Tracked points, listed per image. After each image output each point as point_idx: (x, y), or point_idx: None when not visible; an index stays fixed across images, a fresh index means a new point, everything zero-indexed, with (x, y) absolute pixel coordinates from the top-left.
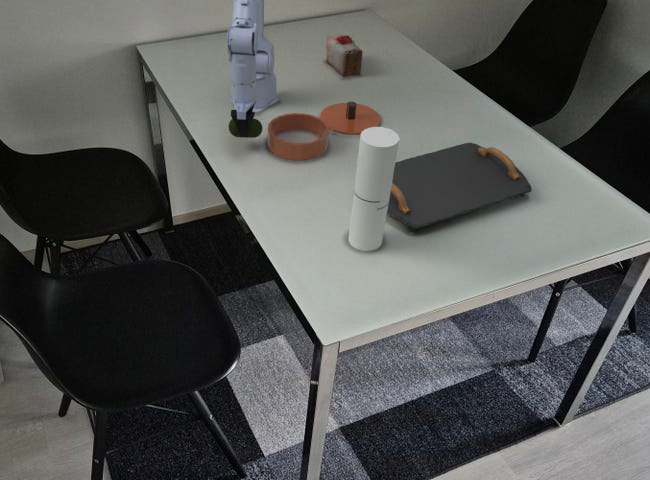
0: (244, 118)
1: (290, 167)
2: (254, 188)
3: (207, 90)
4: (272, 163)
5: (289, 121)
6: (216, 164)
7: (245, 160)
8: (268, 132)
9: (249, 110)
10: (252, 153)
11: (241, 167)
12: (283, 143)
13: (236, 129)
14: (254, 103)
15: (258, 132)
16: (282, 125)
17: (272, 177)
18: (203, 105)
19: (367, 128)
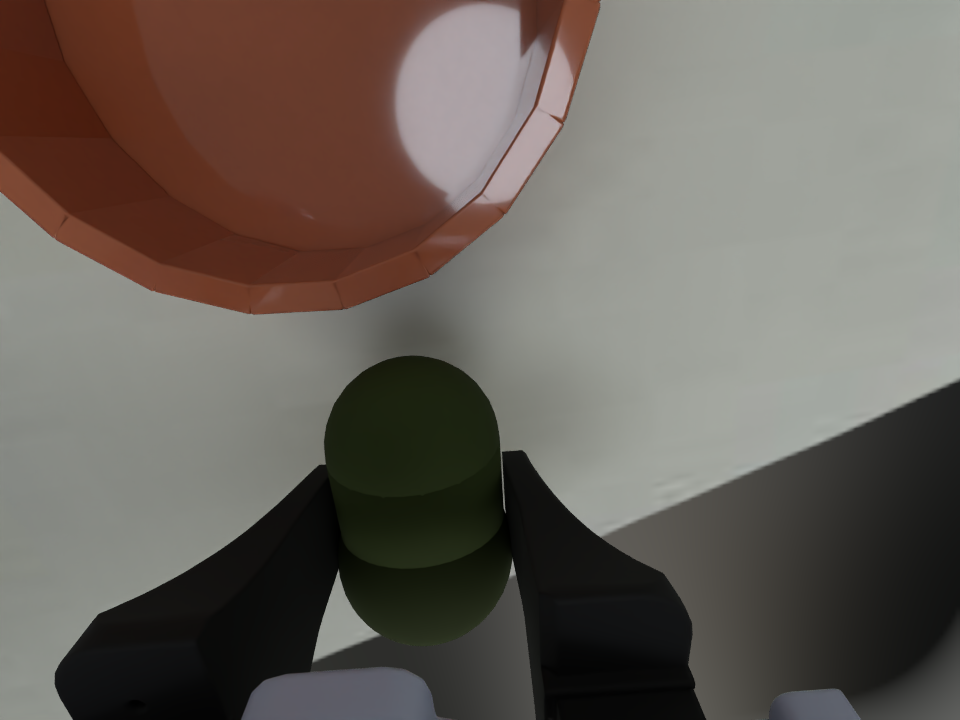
0: (850, 715)
1: (643, 46)
2: (882, 285)
3: None
4: (593, 202)
5: (27, 108)
6: (618, 517)
7: (567, 382)
8: (380, 293)
9: (285, 576)
10: (481, 353)
11: (646, 393)
12: (564, 116)
13: (510, 567)
14: (232, 611)
15: (477, 387)
16: (108, 178)
17: (770, 180)
18: (34, 670)
19: None
